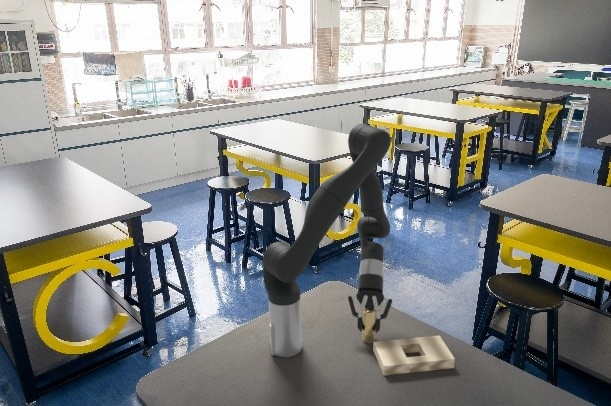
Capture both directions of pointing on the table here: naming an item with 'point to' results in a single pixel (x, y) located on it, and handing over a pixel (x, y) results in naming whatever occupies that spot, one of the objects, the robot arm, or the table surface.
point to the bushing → (368, 324)
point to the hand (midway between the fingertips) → (368, 331)
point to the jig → (397, 362)
